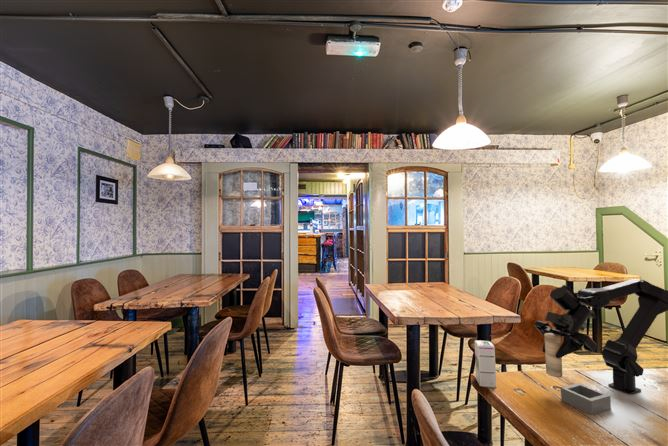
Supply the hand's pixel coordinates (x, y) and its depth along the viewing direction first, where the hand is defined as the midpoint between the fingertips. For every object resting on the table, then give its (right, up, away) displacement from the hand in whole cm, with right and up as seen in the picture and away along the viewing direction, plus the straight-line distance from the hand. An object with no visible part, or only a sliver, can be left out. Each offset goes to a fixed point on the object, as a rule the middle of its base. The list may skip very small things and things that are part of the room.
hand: (549, 354), depth 105 cm
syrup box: (-18, -14, +8) cm, 24 cm away
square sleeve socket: (+7, -13, -7) cm, 16 cm away
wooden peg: (+1, -7, 0) cm, 7 cm away
